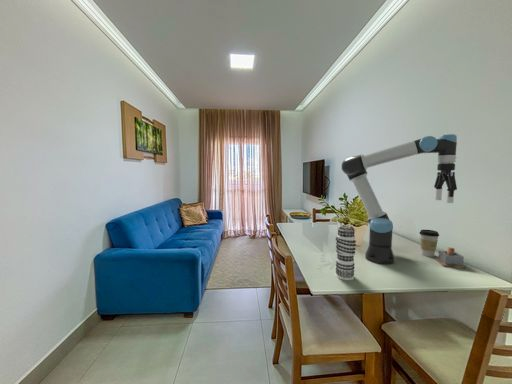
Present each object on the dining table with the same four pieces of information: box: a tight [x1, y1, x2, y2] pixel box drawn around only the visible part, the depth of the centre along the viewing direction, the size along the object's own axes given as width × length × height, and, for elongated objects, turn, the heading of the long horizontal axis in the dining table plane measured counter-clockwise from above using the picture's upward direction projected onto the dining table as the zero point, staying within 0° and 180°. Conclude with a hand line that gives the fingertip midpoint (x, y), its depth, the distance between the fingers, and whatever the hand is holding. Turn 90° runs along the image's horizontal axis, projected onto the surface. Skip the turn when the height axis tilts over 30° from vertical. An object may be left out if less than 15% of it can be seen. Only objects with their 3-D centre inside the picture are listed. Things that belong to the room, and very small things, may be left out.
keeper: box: [434, 247, 467, 269], centre depth 128 cm, size 10×10×9 cm
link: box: [437, 250, 465, 266], centre depth 128 cm, size 8×8×5 cm
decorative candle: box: [335, 224, 357, 281], centre depth 112 cm, size 9×9×25 cm
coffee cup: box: [418, 229, 440, 258], centre depth 142 cm, size 10×10×15 cm
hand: (443, 201), depth 129 cm, fingers open, 13 cm apart
